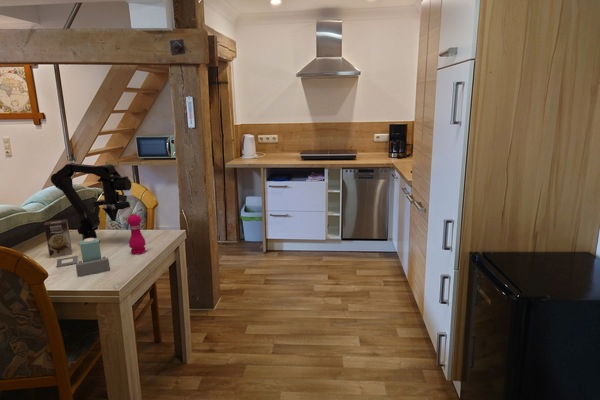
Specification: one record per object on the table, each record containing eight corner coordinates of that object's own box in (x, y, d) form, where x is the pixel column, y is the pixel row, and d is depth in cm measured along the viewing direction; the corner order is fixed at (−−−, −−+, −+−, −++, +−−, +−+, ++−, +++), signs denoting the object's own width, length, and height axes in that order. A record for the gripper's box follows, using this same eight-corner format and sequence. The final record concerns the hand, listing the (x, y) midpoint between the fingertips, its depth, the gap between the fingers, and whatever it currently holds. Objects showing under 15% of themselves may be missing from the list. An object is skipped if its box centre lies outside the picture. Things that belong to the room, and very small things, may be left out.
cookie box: (49, 258, 181) (43, 224, 178) (50, 254, 187) (44, 221, 183) (72, 254, 185) (66, 221, 182) (72, 250, 191) (67, 218, 187)
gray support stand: (77, 268, 169) (75, 257, 167) (108, 262, 174) (106, 251, 173) (77, 277, 159) (75, 265, 158) (110, 270, 165) (108, 259, 164)
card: (57, 260, 178) (57, 259, 178) (77, 256, 182) (77, 255, 182) (56, 267, 170) (56, 266, 170) (77, 263, 174) (77, 262, 174)
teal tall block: (84, 267, 169) (79, 239, 166) (102, 263, 172) (97, 236, 169) (84, 272, 164) (79, 242, 161) (103, 268, 167) (98, 239, 164)
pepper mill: (133, 250, 189) (127, 209, 184) (148, 249, 189) (143, 209, 185) (128, 255, 182) (122, 213, 177) (144, 254, 182) (138, 213, 178)
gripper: (136, 188, 196) (140, 218, 200) (109, 186, 203) (113, 215, 207) (118, 192, 186) (123, 224, 190) (90, 190, 193) (95, 221, 197)
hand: (113, 221), depth 196 cm, fingers closed
